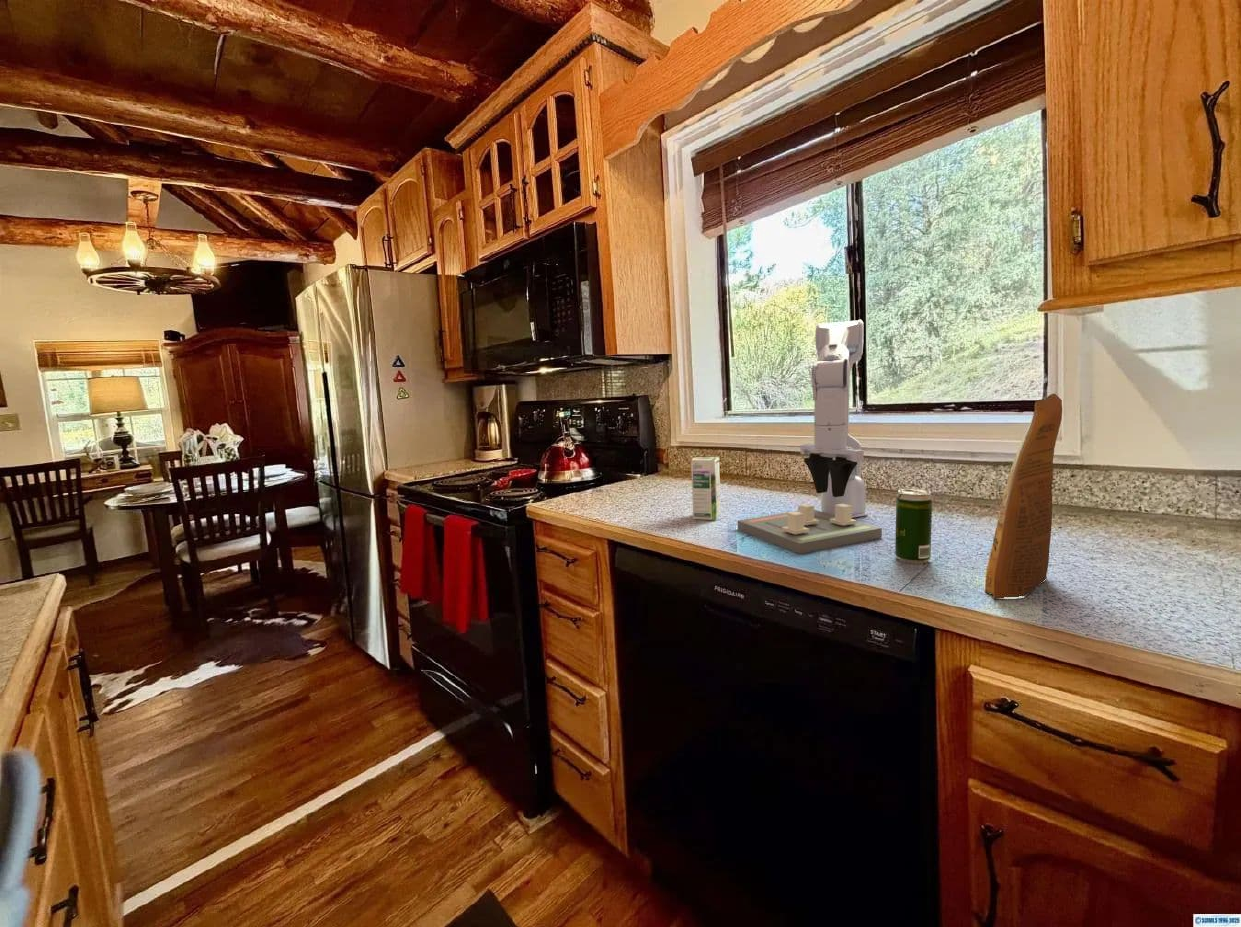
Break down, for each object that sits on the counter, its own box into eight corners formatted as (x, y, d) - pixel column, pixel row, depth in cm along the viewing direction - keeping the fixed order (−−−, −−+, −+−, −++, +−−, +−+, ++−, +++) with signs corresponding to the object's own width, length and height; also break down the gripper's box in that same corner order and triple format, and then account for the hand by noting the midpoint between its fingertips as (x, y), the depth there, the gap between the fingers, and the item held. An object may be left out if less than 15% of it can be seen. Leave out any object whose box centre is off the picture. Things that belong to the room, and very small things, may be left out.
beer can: (937, 561, 92) (939, 492, 90) (916, 567, 89) (918, 496, 88) (908, 553, 96) (910, 487, 95) (888, 558, 94) (889, 491, 92)
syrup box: (692, 519, 128) (690, 459, 126) (698, 514, 133) (696, 455, 131) (716, 520, 126) (714, 459, 124) (721, 514, 131) (719, 455, 129)
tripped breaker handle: (807, 519, 114) (807, 502, 113) (819, 523, 110) (819, 505, 110) (793, 521, 112) (793, 504, 112) (805, 525, 109) (805, 508, 109)
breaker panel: (810, 517, 125) (810, 508, 124) (881, 537, 106) (881, 527, 106) (737, 529, 117) (737, 520, 117) (800, 553, 99) (799, 543, 99)
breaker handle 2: (843, 519, 112) (843, 502, 112) (856, 523, 109) (856, 505, 108) (829, 521, 111) (829, 504, 110) (842, 525, 108) (843, 508, 107)
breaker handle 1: (796, 527, 108) (796, 510, 107) (809, 531, 105) (809, 513, 104) (782, 530, 107) (782, 512, 106) (794, 534, 103) (794, 516, 103)
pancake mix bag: (1069, 576, 82) (1082, 392, 78) (1027, 612, 71) (1040, 398, 67) (1017, 565, 88) (1026, 393, 84) (970, 598, 76) (979, 399, 72)
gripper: (788, 424, 108) (788, 490, 109) (842, 427, 94) (841, 503, 96) (816, 421, 110) (815, 486, 112) (873, 425, 97) (871, 498, 99)
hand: (829, 494), depth 104 cm, fingers open, 4 cm apart
